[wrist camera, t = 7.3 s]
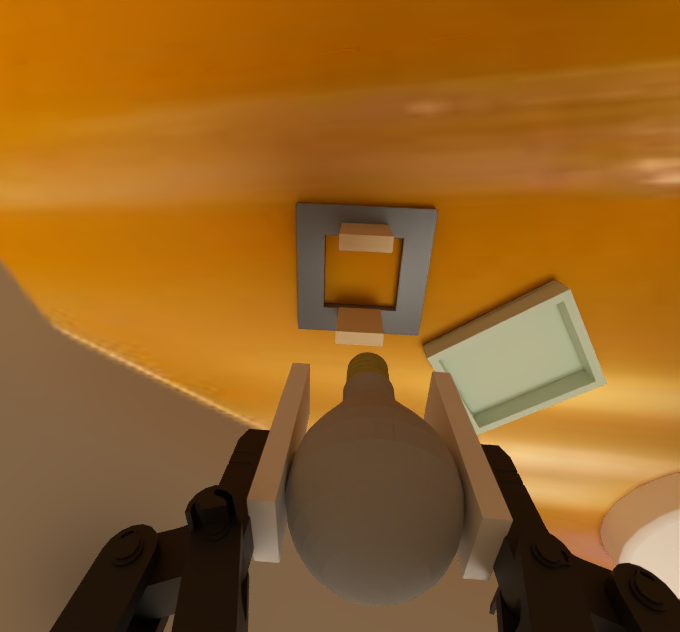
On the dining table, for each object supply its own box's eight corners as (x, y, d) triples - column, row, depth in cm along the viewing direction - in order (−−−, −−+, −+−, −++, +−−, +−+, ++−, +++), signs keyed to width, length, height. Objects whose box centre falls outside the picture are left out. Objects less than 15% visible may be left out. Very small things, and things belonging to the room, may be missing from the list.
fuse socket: (298, 202, 29) (283, 211, 23) (435, 208, 29) (453, 219, 23) (299, 324, 34) (288, 355, 29) (416, 330, 34) (427, 363, 28)
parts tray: (554, 279, 31) (570, 289, 28) (590, 369, 35) (606, 383, 32) (422, 345, 34) (426, 358, 32) (468, 419, 38) (475, 435, 36)
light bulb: (322, 409, 18) (287, 647, 9) (306, 321, 16) (240, 524, 7) (421, 403, 18) (486, 650, 9) (419, 311, 16) (504, 517, 7)
